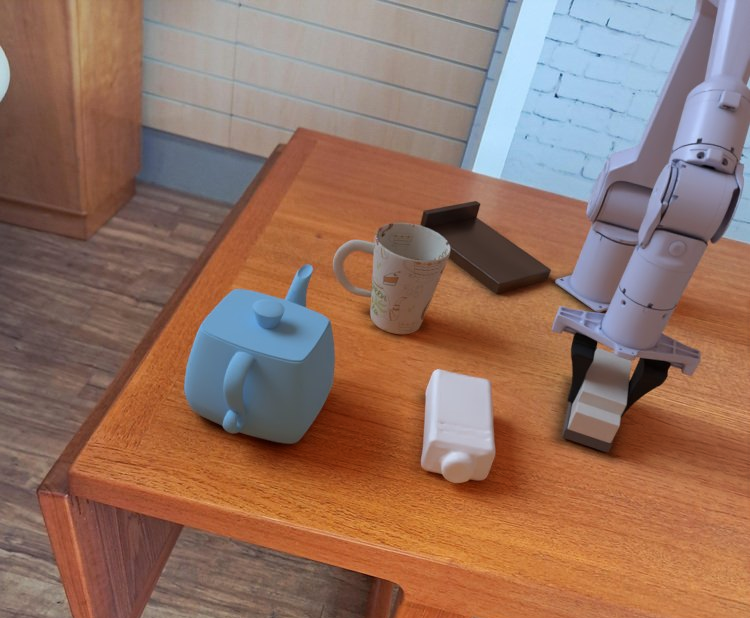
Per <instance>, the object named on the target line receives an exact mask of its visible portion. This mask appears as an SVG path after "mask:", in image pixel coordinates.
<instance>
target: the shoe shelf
mask: <svg viewBox="0 0 750 618" xmlns="http://www.w3.org/2000/svg"><path fill="white" fill-rule="evenodd" d="M480 208H481V203H480V202H478V201H477V200H474V201H467V202H463V203H457V204H451V205H445V206H442V207H436V208H430V209H426V210H423V212H422V215H421V220H420V224H419V225H420V226H423V227H426V228H429V229H431V230H433V231H435V232H437V233H438V234H440V235H441V236H443V237H444V238H445V239H446V240H447V242H448V243H449V245H450V255H449V258H448V259H450V260H451V261H452V262H454V264H456V265H457V266H459V267H460V268H461V269H463V270H464V271H466V272H467V273H468V274H469V275H471V276H472V277H473V278H475V279H476V280H477V281H478V282H480V283H481V284H483V285H484V286H485V287H487V288H488V289H489V290H491V291H492V292H493V293H494V294H498V295H499V294H501V293H505V292H508V291H511V290H515V289H518V288H522V287H526V286H529V285H533V284H536V283H540V282H543V281H547V280H549V277H550V276H551V275H550V274H551V271H552V269H551V268H550V267H548V266H547V265H545V264H544V263H543V262H541V261H540V260H538V258H537V259H536V258H535V257H534V256H533V255H531V254H530V253H528V252H527V251H525V250H524V249H522V248H521V247H520V246H518V245H517V244H515V242H512V241H511V240H510V239H508V238H507V237H505V236H504V235H503V234H501V233H500V232H498V231H497V230H495V228H492V227H491V226H489V224H487V223H486V222H484V221H483V220H481V219H480V218H478V214H479V211H480Z"/></svg>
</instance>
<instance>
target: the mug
mask: <svg viewBox="0 0 750 618" xmlns="http://www.w3.org/2000/svg"><path fill="white" fill-rule="evenodd" d="M420 225H421V224H415V223H409V222H391V223H387V224H384V225H382V226H380V227H379V228H378V229H377V230H376V232H375V235H374V241H373V242H371V241H367V240H363V239H351V240H349V241H346V242H345V243H343V244H342V245H341V246H339V248H338V249H337V250H336V252H335V254H334V256H333V260H332V270H333V274H334V277H335V279H336V280H337V282H338V283H339V284H340V285H341V286H342V288H343V289H345V290H346V291H347V292H349V293H350V294H352V295H354V296H358V297H363V298H369V299H370V310H369V311H370V312H369V313H370V314H369V315H370V320H371V321H372V323H373V325H375V326H376V327H377V328H379V329H381V331H382V330H383V331H384V332H388V333H390V334H395V335H409V334H413V333H415V332H417V331H418V330H419V329H420V327H422V326H421V325H422V323H423V321H424V319H425V316H426V314H427V311H428V309H429V306H430V304H431V302H432V299H433V297H434V294H435V292H436V289H437V287H438V285H439V282H440V280H441V278H442V276H443V273H444V270H445V268H446V265H447V263H448V261H449V259H450V258H449V255H450V245H449V243H448V242H447V240H446V239H445V238H444V237H443V236H441V235H440V234H438V233H437V232H435V231H433V230H431V229H429V228H426V227H423V226H420ZM354 252H361V253H366V254H369V255H372V257H373V260H372V276H371V277H372V278H371V290H369V289H364V288H362V287H358V286H357V287H356V286H354V285H353V283H351V281H349V278H348V277H347V275H346V273H345V268H344V264H345V261H346V259H347V257H349V256H350V255H351V254H352V253H354Z"/></svg>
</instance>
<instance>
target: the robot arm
mask: <svg viewBox="0 0 750 618" xmlns="http://www.w3.org/2000/svg"><path fill="white" fill-rule="evenodd" d="M749 80H750V0H695V6H694V11H693V16H692V18H691V20H690V22H689V25H688V27H687V30H686V32H685V34H684V36H683V39H682V42H681V44H680V46H679V48H678V51H677V53H676V56H675V58H674V60H673V62H672V65H671V67H670V70H669V71H668V74H667V76H666V79H665V81H664V83H663V85H662V88H661V90H660V93H659V95H658V98H657V99H656V102H655V104H654V107H653V109H652V112H651V114H650V116H649V118H648V120H647V123H646V125H645V127H644V130H643V132H642V135H641V137H640V139H639V141H638V143H637V145H636V146H633V147H630V148H627V149H624V150H620V151H616V152H614V153H611V154H610V155H609V158H606V160H605V163H604V165H603V167H602V169H601V171H600V172H599V174H598V175H597V178H596V180H595V183H594V184H593V188H592V189H591V193H590V197H589V200H588V202H587V206H586V212H585V215H586V217H587V220H588V221H589V222H591V226H590V228H589V231H588V234H587V236H586V238H585V241H584V244H583V246H582V248H581V251H580V254H579V256H578V258H577V261H576V264H575V266H574V269H573V271H572V274H570V275H566V276H563V277H559V278H556V279H555V284H556V285H557V286H559V287H560V288H562V289H563V290H564V291H565V292H567V293H569V294H570V295H571V296H573V297H574V298H576V299H577V300H579V301H580V302H581V303H583V304H584V305H585V306H587V307H588V308H589V309H591V310H593V311H588V310H583V309H582V310H580V309H575V308H570V307H566V306H563V305H559V308H558V309H557V311H556V314H555V317H554V319H553V323H552V326H551V332H554V333H557V334H562V333H563V332H564V333H567V334H571V335H573V337H572V342H571V346H570V359H571V385H570V387H569V388H570V389H569V391H568V396H567V402H568V403H569V402H571V403H573V402H574V401H575V399H576V397H577V395H578V392H579V389H580V386H581V384H582V381H583V379H584V377H585V375H586V373H587V371H588V369H589V367H590V366H591V364H592V362H593V360H594V354H595V351H596V349H597V348H598V344H601V345H603V346H605V347H607V348H609V349H610V350H612V351H613V353H614V354H615V355H616V356H618V357H620V358H623V359H627V360H630V361H632V362H633V361H635V360H636V358H639V359H638V362H637V364H636V366H635V368H634V371H633V372H632V375H631V376H630V380H629V388H628V397H627V405H626V407H625V409H624V411H623V413H622V415H621V419H622V418H623V416H624V415H625V414H626V412H627V411H628V410H629V409H630V408H631V407H632V406H633V405H635V404H636V403H637V402H638V401H639V400H641V398H642V397H644V396H645V395H647V394H648V393H650V392H651V391H653V390H655V389H657V388H659V387H660V386H662V385H663V384H664V383H665V381H666V380H667V378H668V377H669V376H668V375H669V370H670V368H671V367H672V368H675V369H678V370H680V372H681V373H682V374H683V375H686V376H689V377H692V376H693V375H694V373H695V371H696V370H697V368H698V367H699V364H700V363H701V361H702V360H701V359H702V358H701V357H702V356H701V355H702V354H701V350H700V349H698V348H697V349H696V348H694V347H691V346H689V345H686V344H685V343H682V342H681V341H678V340H676V339H674V338H672V337H671V336H669V335H667V334H665V333H664V331H665V329H666V327H667V325H668V323H669V321H670V319H671V317H672V316H673V314H674V313H675V309H676V307H677V306H678V304H679V302H680V300H681V298H682V296H683V294H684V292H685V291H686V288H687V287H688V285H689V283H690V281H691V279H692V277H693V276H694V273H695V272H696V269H697V267H698V265H699V263H700V262H701V260H702V258H703V256H704V254H705V252H706V251H707V248H708V246H709V244H708V242H709V241H710V243H711V244H713V245H715V244H717V243H718V242H719V241H720V240H721V239H722V238H723V236H724V235H725V234H726V232H727V230H728V228H729V227H730V225H731V223H732V221H733V219H734V217H735V215H736V212H737V210H738V207H739V204H740V201H741V197H742V194H743V191H744V184H745V177H744V169H745V164H744V163H741V162H740V161H741V157H742V155H743V154H742V153H743V150H744V147H745V143H746V140H747V136H748V133H749V129H750V88H749V87H748V82H749ZM605 311H606V312H605ZM602 312H603V313H602ZM604 312H605V313H604Z"/></svg>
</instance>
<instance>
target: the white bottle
mask: <svg viewBox="0 0 750 618" xmlns="http://www.w3.org/2000/svg"><path fill="white" fill-rule="evenodd" d="M492 389H493V388H492V382H491V380H489V379H487V378H483V377H477V376H474V375H473V376H472V375H467V374H463V373H457V372H453V371H450V370H449V371H448V370H444V369H442V368H441V369H440V368H437V369H434V371H432V373H431V376H430V378H429V381H428V384H427V386H426V389H425V405H424V422H423V423H424V424H423V440H422V442H423V443H422V452H421V457H420V466H421V468H422V469H423V470H424V471H426V472H431V473H436V474H440V475H442V476H443V478H444V479H445V480H447V481H448V482H449V483H453V484H461V483H462V484H463V483H465V482H468V481H470V480H472V481H477V482H478V481H484V480H486V478H487V477H488V475H489V473H490V471H491V469H492V465H493V462H494V460H495V457H496V444H495V432H494V430H495V427H494V409H493V408H494V407H493V392H492V391H493V390H492Z"/></svg>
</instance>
